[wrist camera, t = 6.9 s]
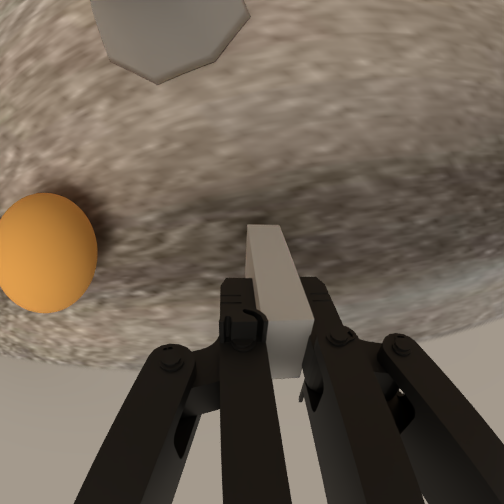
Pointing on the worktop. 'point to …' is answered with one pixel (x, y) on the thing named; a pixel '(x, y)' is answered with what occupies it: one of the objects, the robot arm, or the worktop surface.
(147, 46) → the flask
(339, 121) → the worktop surface
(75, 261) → the ball
